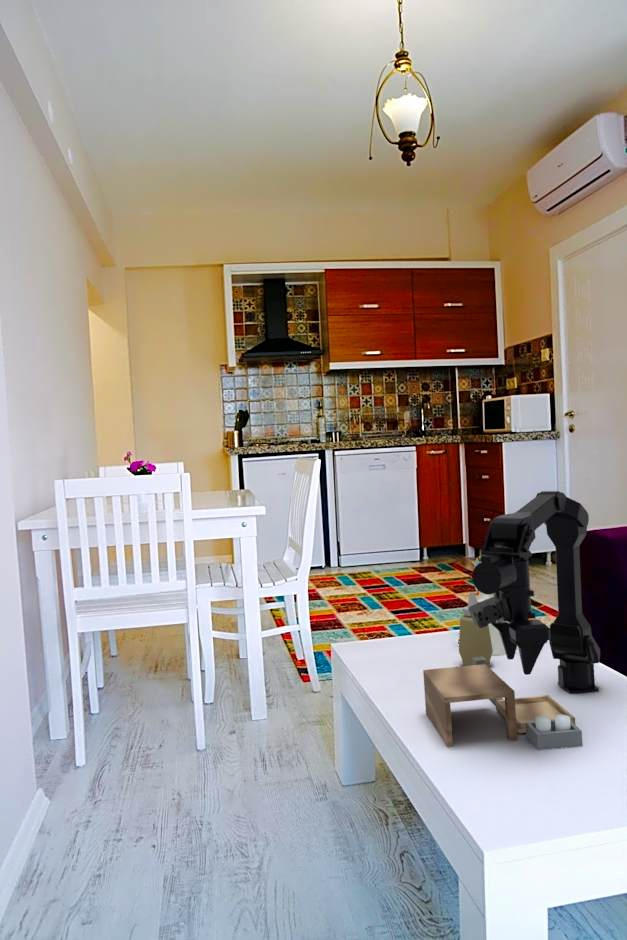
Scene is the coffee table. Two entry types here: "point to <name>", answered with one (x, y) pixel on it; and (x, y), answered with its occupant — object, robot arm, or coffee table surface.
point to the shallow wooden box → (528, 706)
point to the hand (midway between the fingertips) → (518, 666)
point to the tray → (553, 732)
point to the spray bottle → (494, 633)
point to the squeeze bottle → (473, 637)
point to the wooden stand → (464, 695)
